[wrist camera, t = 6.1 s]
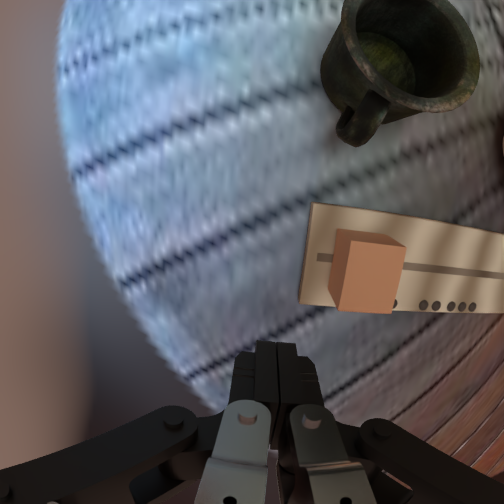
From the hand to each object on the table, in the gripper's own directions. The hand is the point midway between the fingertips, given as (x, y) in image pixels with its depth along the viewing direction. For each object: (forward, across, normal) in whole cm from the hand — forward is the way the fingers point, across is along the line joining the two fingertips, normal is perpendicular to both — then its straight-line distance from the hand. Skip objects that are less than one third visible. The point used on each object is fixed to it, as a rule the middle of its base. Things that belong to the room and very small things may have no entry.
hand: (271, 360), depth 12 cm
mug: (+20, -8, -17) cm, 27 cm away
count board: (+20, -19, 0) cm, 27 cm away
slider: (+18, -9, 0) cm, 20 cm away
